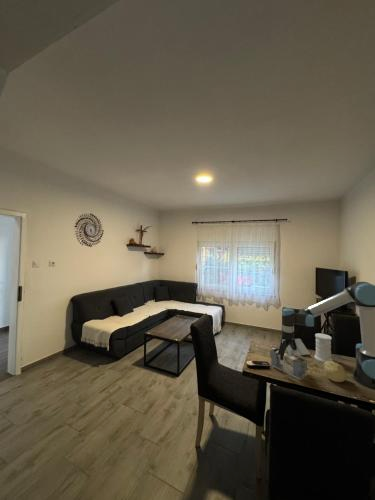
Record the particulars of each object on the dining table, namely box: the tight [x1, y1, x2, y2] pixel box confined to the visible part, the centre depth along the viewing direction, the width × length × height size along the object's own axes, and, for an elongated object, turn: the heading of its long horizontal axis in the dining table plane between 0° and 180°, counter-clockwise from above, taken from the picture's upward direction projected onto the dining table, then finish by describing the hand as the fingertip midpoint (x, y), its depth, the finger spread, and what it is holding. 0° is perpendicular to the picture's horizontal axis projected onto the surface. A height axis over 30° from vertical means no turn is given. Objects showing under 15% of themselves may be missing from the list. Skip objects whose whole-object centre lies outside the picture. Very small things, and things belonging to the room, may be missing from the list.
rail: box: [276, 350, 302, 367], centre depth 146 cm, size 17×4×4 cm, turn 36°
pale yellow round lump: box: [322, 360, 347, 383], centre depth 137 cm, size 12×12×11 cm
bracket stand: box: [269, 347, 308, 381], centre depth 146 cm, size 22×9×11 cm, turn 35°
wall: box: [286, 338, 311, 357], centre depth 175 cm, size 16×9×15 cm
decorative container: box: [314, 332, 333, 363], centre depth 163 cm, size 12×12×18 cm
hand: (287, 361), depth 146 cm, fingers open, 13 cm apart
